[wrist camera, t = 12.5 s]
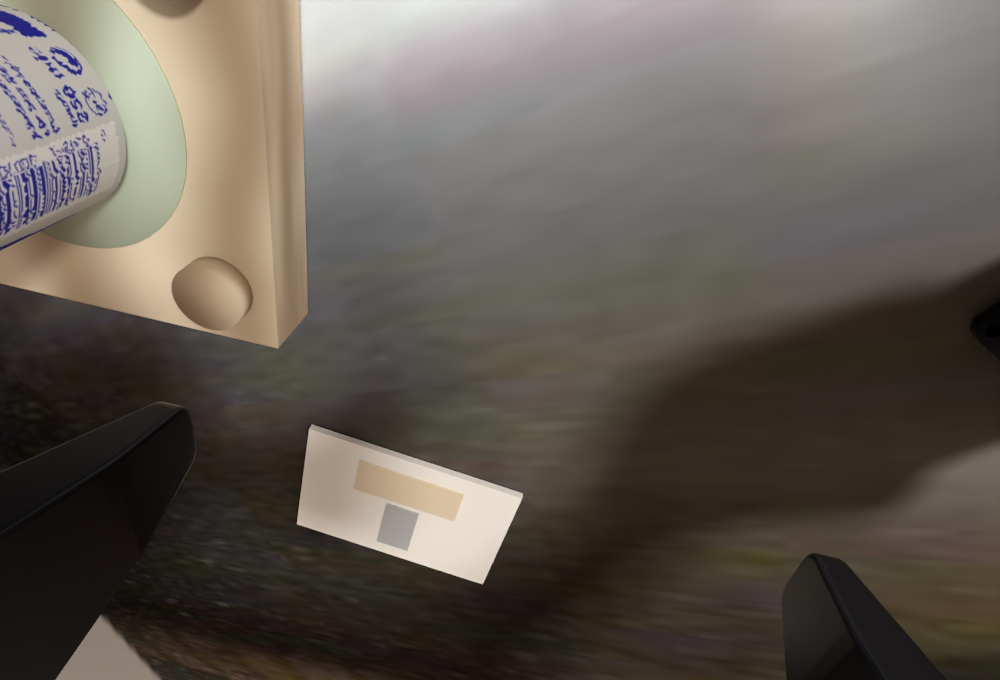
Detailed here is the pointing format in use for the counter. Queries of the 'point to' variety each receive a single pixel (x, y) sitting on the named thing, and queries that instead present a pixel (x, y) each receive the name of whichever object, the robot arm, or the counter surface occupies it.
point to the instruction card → (403, 505)
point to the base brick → (187, 168)
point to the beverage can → (51, 130)
